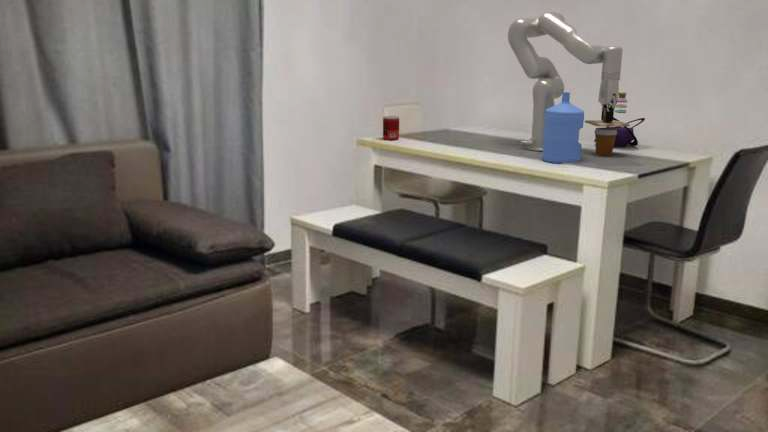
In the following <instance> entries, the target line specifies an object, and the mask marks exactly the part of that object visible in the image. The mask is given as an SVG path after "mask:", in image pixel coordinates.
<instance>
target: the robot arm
mask: <svg viewBox="0 0 768 432" xmlns="http://www.w3.org/2000/svg"><path fill="white" fill-rule="evenodd" d="M542 36H549V37H551V38H553V40H555V41H556V42H558V43H559V44H561V45H562V46H563V48H564V49H565V50H566V51H567V52H568V53H569V54H571V56H573V57H574V58H576V59H577V60H579V61H580V62H581V63H583V64H586V65H596V64H601V65H602V67H601V78H600V81H601V82H600V87H599V93H598V99H597V101H598V103H600V104H601V116H600V117H601V119H600V120H603V112H604V108H607V112H606V118H605V121H613V117H614V115H615V113H614V112H615V110H616V108H617V107H616V105H618V103H619V102H618V99H619V91H620V83H619V82H620V81H621V70H622V60H623V48H622V47H621V46H616V45H615V46H605V45H591V44H589V43H588V42H586V41H585V40H583V39H582V38H581V37H580V36H579V35H578V34H577V29H576V28H575V27H574V26H573V25H571V24H570V23H568V22H566V20H565V17H564V15H563V14H561V13H560V12H555V11H554V12H553V11H545V12H543V13H542V14H541V15H540V16H538V17H534V18H533V17H519V18H517V19H515V20H513V22H512V23H511V24H510V26H509V28H508V32H507V40H508V44H509V46H510V48H511V50H512V52H513V53H514V55H515V57H516V59H517V61H518V63H519V64H520V66H521V68H522V70H523V72H524V74H525V76H526V77H527V78H529V79H531V80H537V81H536V82H535V83H534V84H533V88H532V103H533V106H532V108H533V109H532V125H531V137H530V138H529V139H527V140H520V145H521V146H527V150H530V151H535V152H543V141H544V140H543V136H544V126H545V112H546V109H548V108H550V107H553V106H555V105H556V104H555V99H558V98H561V97H562V92H565V85H564V84H565V83H564V81H563V79H562V77H561V76H560V74H559V72H558V70H557V69H556V67H555V65H554V63H553V62H552V61H551V60H550V59H549V58H547V57H543V56H539V55H538V53H537V51H536V50H535V47H534V45H532V43H531V42H530V41H529V40H528V39H530V38H537V37H542Z"/></svg>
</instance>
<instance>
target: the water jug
mask: <svg viewBox="0 0 768 432" xmlns="http://www.w3.org/2000/svg"><path fill="white" fill-rule="evenodd" d="M570 94H571V92H566V91H564V92H562V95H561V102H559V103H558V104H555V106H553V107H550V108H548V109H546V112H545V126H544V136H543V140H544V141H543V151H542V154H541V158H542V161H544V162H547V163H551V164H561V165H564V163H573V162H580V161H581V159H582V144H581V143H580V142H579V141H580V140H579V139H580V131H581V129H583V128H584V123H585V111H584V110H583V109H581V108H579V107H578V106H577V105H574V104H572V103H571V102H570Z"/></svg>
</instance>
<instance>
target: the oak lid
mask: <svg viewBox="0 0 768 432" xmlns="http://www.w3.org/2000/svg"><path fill="white" fill-rule="evenodd" d="M606 112H607V108H604V112H603V120H601V119H600V120H599V119H598V120H594V119H593V120H590V119H589V120H584V123H586V124H588V125H592V126H594V127H596V128H605V127H607V126H609V127H617V126H621V127H623V126H626V127H631V124H630V123H628V124H627V122H623V121H620V120H619V121H617V120H618V119H617V120H613V121H605V118H606Z"/></svg>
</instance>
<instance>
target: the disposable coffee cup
mask: <svg viewBox="0 0 768 432" xmlns="http://www.w3.org/2000/svg"><path fill="white" fill-rule="evenodd" d="M593 132H594V134H595V135H594V136H595V137H594V140H595V141H596V142H595V155H597V156H600V157H601V156H603V157H604V156H605V157H609V156H611V157H612V155H613V151H614V148H615V147H614V142H615V138H616V135H617V133H618V132H617V129H614V128H605V127H596V128H595V129H594V131H593Z"/></svg>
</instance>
